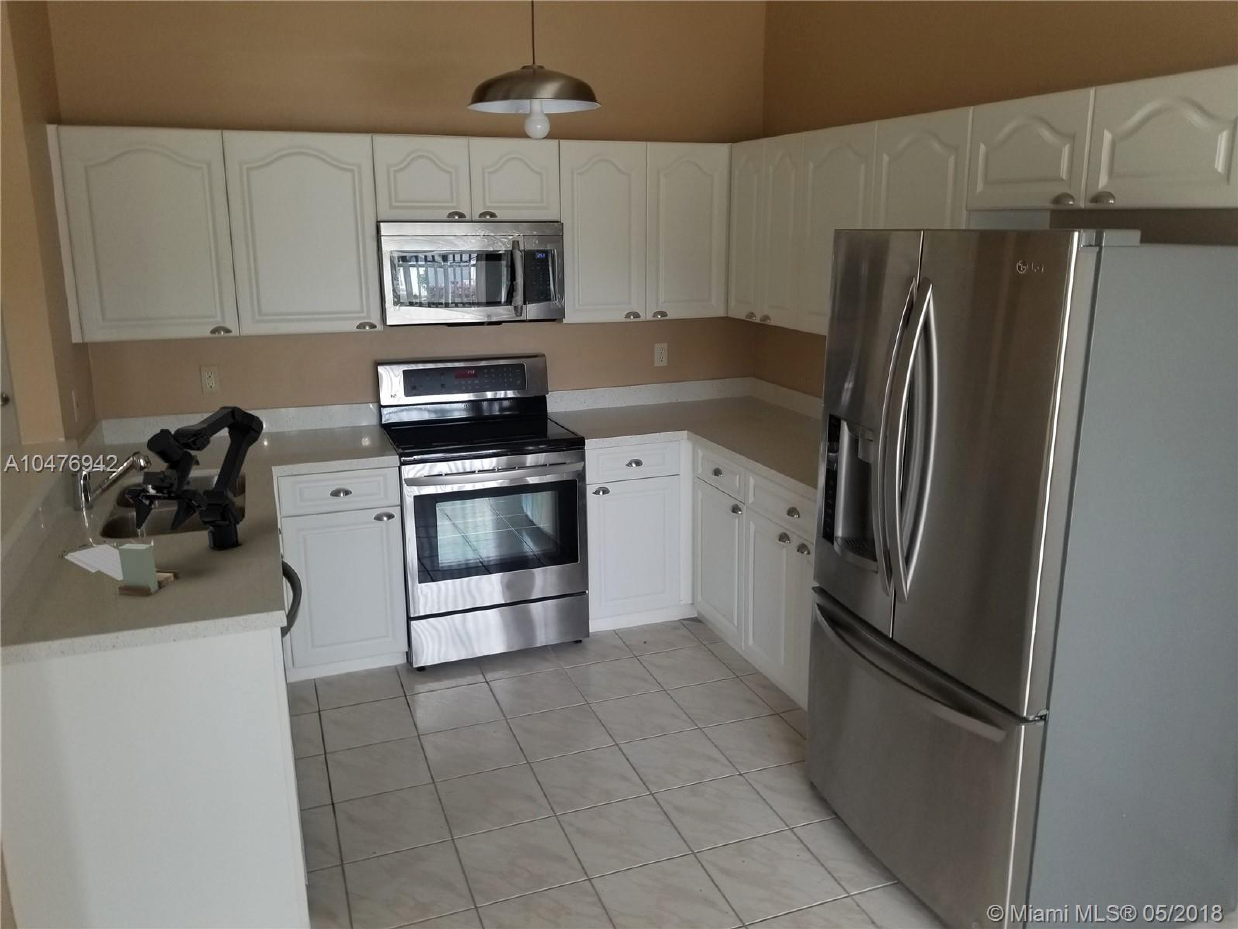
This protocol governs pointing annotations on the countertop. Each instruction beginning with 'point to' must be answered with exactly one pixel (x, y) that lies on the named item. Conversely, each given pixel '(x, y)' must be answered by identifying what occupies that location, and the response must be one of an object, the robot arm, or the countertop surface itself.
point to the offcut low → (168, 580)
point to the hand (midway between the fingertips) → (154, 529)
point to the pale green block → (138, 566)
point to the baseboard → (98, 560)
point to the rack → (147, 590)
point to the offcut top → (164, 576)
